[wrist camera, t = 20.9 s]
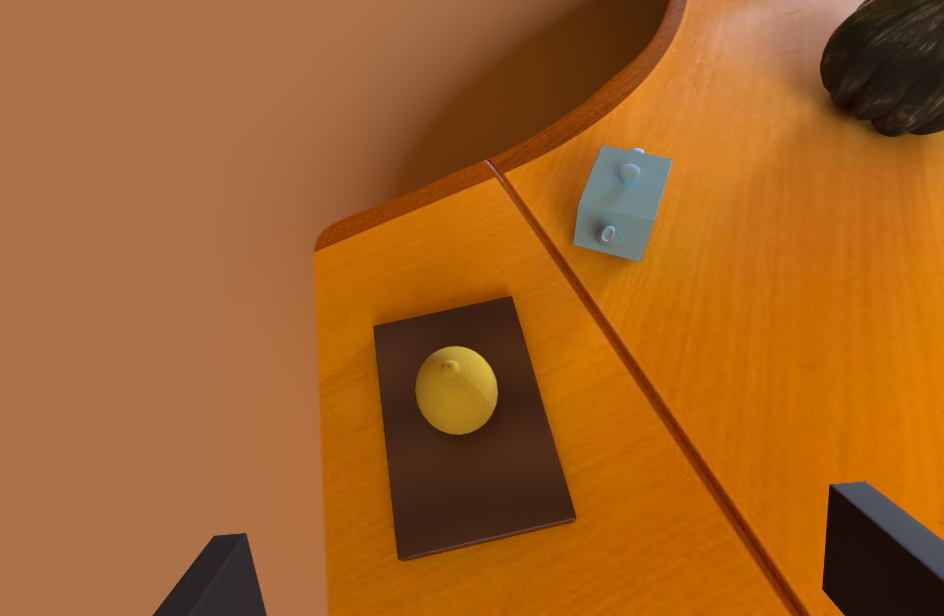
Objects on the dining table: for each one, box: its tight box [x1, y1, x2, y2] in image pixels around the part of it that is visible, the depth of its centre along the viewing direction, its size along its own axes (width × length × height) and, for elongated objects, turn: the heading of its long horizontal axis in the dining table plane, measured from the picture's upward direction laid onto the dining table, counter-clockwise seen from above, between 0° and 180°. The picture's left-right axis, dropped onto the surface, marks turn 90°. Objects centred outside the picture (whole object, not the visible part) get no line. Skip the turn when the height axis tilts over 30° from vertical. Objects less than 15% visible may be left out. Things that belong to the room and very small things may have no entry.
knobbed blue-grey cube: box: [573, 145, 673, 262], centre depth 43 cm, size 12×6×8 cm, turn 157°
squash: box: [820, 0, 944, 137], centre depth 46 cm, size 14×15×15 cm
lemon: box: [415, 346, 498, 435], centre depth 34 cm, size 6×6×8 cm
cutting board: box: [373, 296, 576, 562], centre depth 38 cm, size 18×12×2 cm, turn 11°
